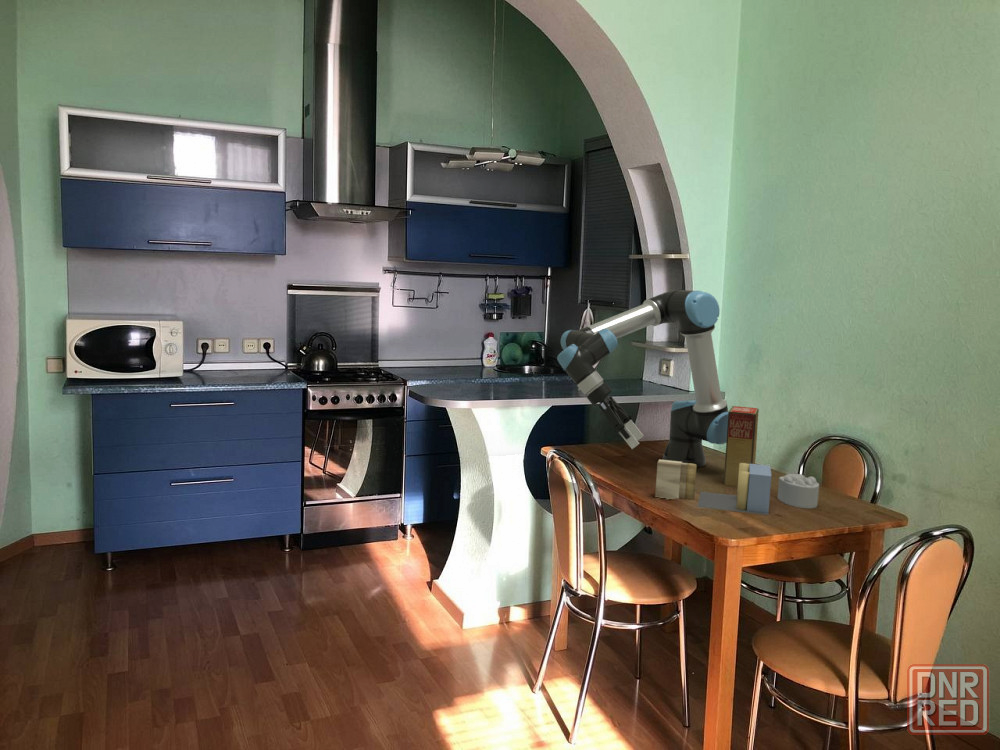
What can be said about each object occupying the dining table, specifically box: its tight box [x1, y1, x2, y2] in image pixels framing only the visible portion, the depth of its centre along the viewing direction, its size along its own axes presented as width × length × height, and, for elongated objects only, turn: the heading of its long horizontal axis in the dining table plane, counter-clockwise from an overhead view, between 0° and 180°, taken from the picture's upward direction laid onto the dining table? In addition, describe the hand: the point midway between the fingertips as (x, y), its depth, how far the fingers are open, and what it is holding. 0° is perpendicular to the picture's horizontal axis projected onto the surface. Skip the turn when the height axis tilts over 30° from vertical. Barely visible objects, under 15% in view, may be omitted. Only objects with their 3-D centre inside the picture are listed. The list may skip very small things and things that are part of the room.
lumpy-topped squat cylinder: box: [776, 473, 820, 509], centre depth 255 cm, size 10×13×9 cm
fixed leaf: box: [736, 463, 772, 514], centre depth 249 cm, size 14×9×11 cm, turn 164°
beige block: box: [654, 459, 697, 501], centre depth 256 cm, size 5×12×11 cm, turn 74°
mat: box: [697, 491, 769, 516], centre depth 252 cm, size 18×20×1 cm
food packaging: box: [723, 405, 759, 487], centre depth 276 cm, size 13×9×25 cm
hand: (638, 442), depth 258 cm, fingers open, 13 cm apart
